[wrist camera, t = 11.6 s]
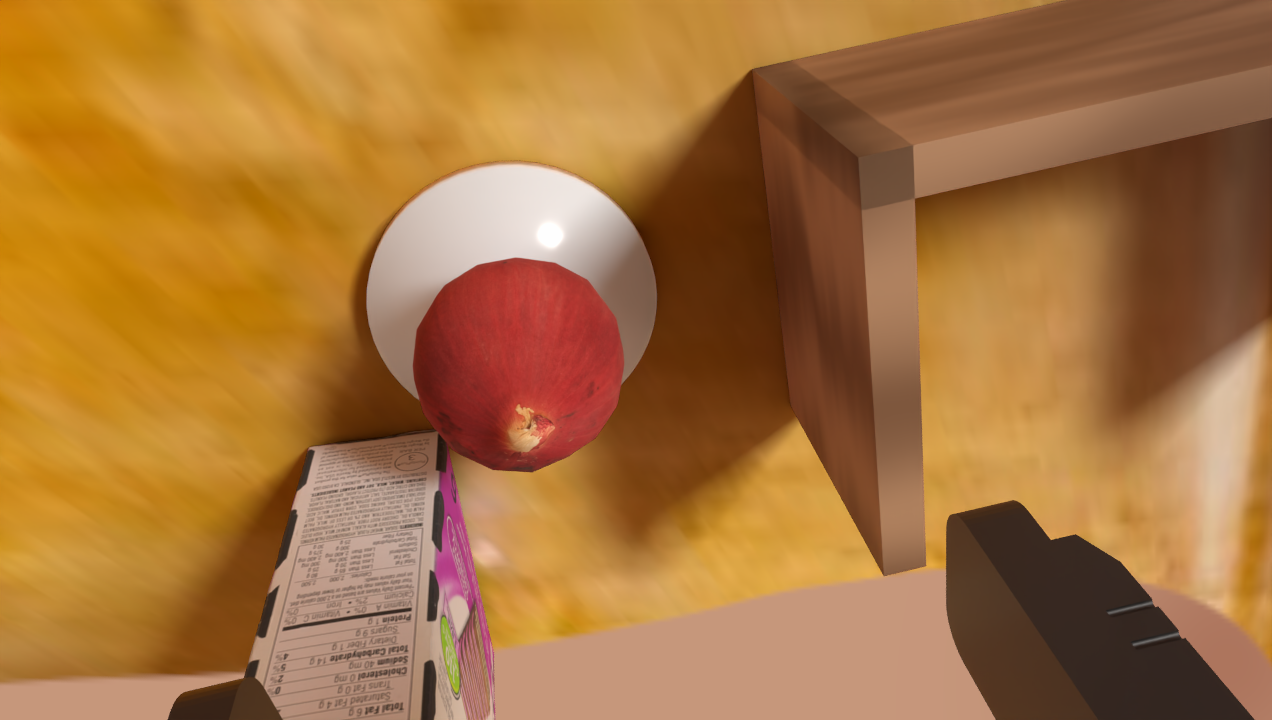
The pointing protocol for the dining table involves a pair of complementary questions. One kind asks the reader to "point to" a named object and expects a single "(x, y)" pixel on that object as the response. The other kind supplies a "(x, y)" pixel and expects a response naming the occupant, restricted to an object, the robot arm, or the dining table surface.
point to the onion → (518, 364)
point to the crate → (947, 160)
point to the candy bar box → (376, 591)
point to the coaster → (506, 250)
